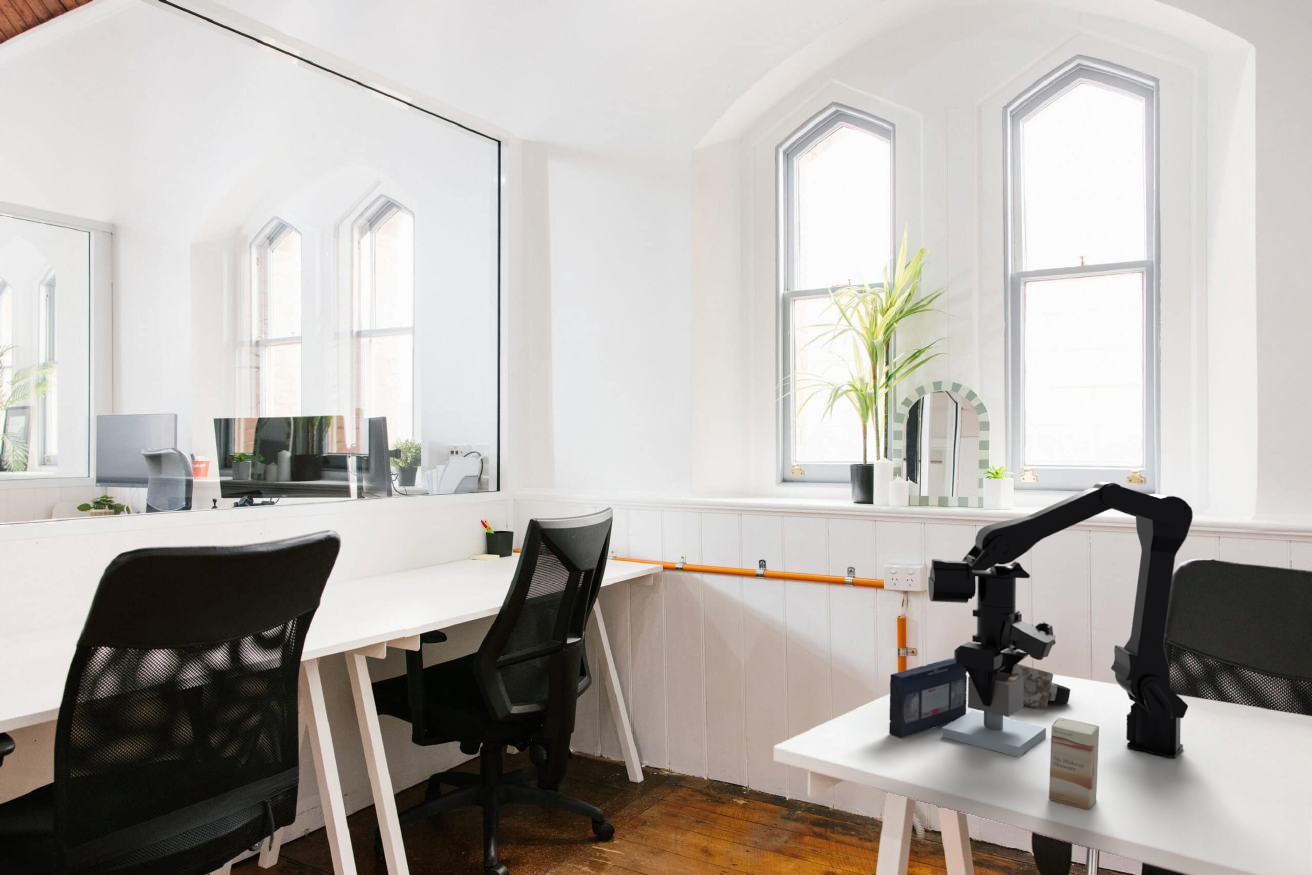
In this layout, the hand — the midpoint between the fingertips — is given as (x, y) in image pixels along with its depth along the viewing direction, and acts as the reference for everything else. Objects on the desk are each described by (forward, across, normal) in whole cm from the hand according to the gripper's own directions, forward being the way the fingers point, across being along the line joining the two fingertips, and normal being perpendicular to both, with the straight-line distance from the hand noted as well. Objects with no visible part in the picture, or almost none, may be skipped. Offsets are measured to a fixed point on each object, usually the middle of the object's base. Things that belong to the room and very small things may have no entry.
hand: (995, 700), depth 135 cm
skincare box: (+6, -17, -17) cm, 24 cm away
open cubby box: (+1, 0, 0) cm, 1 cm away
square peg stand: (+6, 0, 0) cm, 6 cm away
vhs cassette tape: (+6, -2, +10) cm, 12 cm away
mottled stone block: (+6, +24, +2) cm, 25 cm away
